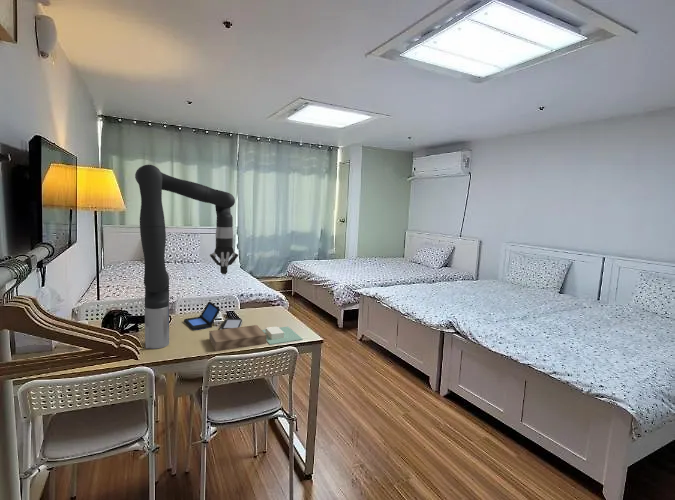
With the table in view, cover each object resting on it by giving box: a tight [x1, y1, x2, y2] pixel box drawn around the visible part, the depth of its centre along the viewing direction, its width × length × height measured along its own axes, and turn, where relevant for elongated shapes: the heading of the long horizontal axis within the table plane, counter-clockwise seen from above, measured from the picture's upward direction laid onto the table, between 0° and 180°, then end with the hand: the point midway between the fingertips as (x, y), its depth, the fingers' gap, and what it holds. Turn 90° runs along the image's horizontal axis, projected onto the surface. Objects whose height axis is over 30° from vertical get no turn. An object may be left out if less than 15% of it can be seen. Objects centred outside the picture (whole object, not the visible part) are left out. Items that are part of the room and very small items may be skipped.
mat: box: [261, 326, 304, 346], centre depth 175 cm, size 16×18×1 cm
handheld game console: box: [183, 301, 221, 331], centre depth 185 cm, size 16×13×9 cm
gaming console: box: [219, 317, 243, 330], centre depth 183 cm, size 19×9×2 cm, turn 7°
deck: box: [208, 324, 267, 352], centre depth 165 cm, size 22×14×4 cm, turn 120°
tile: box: [264, 326, 284, 340], centre depth 174 cm, size 6×9×3 cm, turn 30°
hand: (223, 274), depth 169 cm, fingers closed
